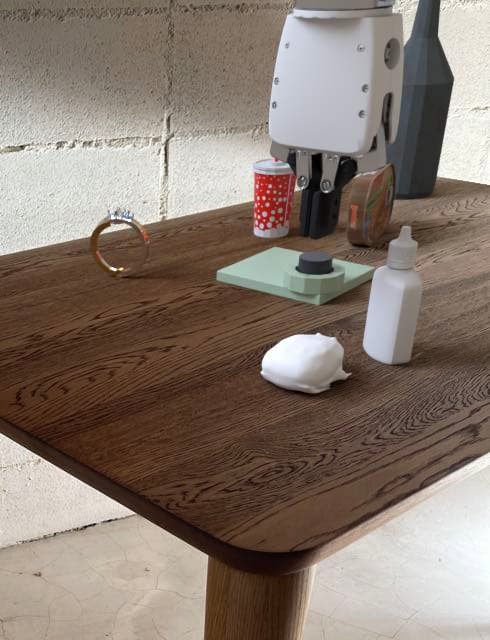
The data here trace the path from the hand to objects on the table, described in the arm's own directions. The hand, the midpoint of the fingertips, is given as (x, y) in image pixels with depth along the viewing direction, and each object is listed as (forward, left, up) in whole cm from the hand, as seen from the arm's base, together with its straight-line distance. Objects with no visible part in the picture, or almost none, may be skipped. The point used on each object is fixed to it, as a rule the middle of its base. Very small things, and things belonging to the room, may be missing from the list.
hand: (317, 234), depth 78 cm
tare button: (+9, -15, -9) cm, 19 cm away
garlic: (-3, +4, -12) cm, 13 cm away
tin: (+15, -39, -12) cm, 43 cm away
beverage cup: (+26, -33, -12) cm, 43 cm away
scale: (+13, -19, -12) cm, 25 cm away
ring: (+30, -7, -12) cm, 33 cm away
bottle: (+23, -63, -12) cm, 68 cm away
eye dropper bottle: (-6, -5, -12) cm, 14 cm away
